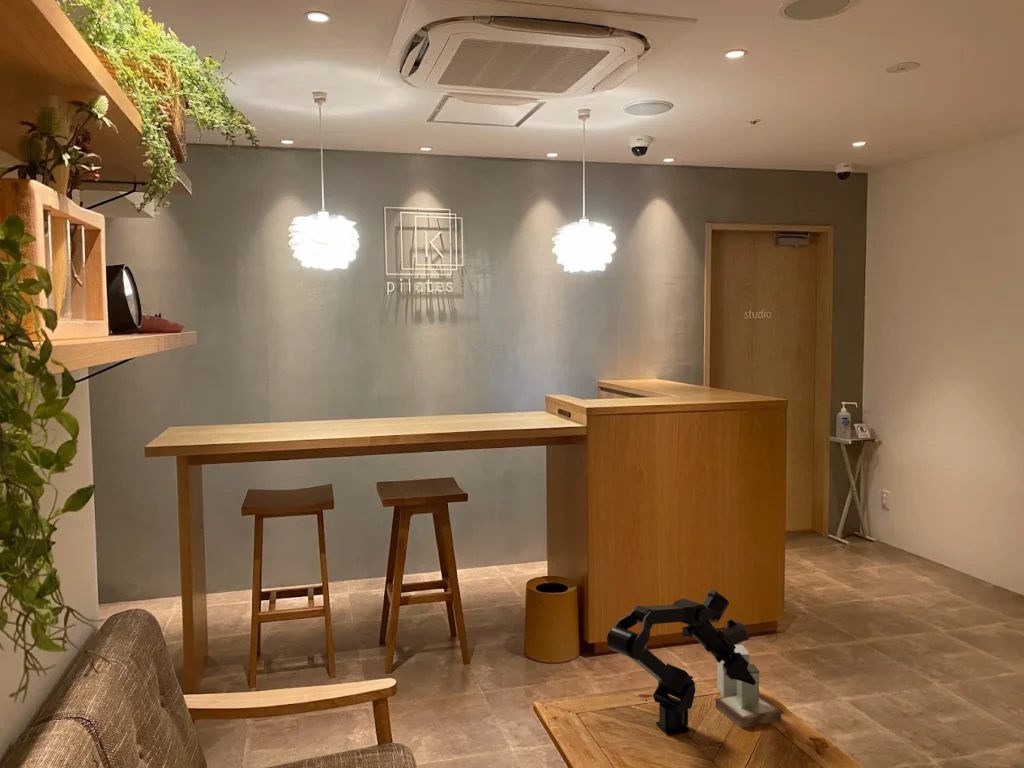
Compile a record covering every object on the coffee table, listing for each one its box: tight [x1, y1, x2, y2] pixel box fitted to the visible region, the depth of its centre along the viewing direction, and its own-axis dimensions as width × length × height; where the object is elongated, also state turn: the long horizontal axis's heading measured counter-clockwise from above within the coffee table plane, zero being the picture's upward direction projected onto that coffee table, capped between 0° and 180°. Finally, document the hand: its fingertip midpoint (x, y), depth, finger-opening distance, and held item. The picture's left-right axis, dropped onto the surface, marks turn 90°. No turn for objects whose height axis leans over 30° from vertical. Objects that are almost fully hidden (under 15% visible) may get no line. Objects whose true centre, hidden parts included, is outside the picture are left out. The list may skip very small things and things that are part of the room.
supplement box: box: [716, 644, 751, 698], centre depth 230 cm, size 7×7×13 cm
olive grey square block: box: [737, 663, 760, 709], centre depth 218 cm, size 5×5×10 cm
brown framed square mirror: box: [715, 695, 782, 729], centre depth 218 cm, size 12×12×3 cm
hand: (749, 676), depth 218 cm, fingers open, 9 cm apart
